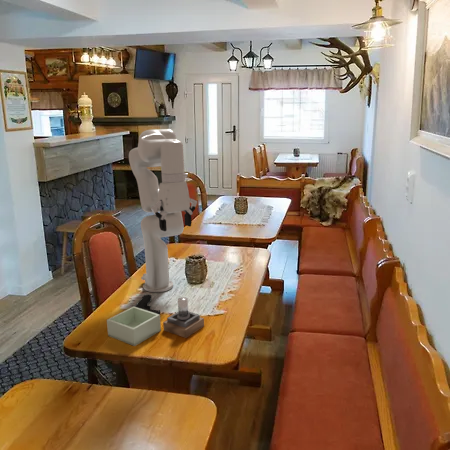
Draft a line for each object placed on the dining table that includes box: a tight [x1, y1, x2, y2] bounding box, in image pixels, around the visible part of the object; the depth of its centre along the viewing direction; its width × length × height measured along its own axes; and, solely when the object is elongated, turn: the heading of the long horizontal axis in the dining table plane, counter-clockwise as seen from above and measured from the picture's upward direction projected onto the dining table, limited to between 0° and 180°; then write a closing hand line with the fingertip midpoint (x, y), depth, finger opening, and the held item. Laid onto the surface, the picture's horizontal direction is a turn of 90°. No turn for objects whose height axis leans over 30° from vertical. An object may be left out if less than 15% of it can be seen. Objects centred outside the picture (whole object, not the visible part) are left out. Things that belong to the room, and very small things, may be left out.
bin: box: [106, 305, 162, 347], centre depth 160 cm, size 13×13×6 cm
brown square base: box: [162, 310, 205, 338], centre depth 163 cm, size 10×10×4 cm
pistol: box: [134, 294, 161, 316], centre depth 178 cm, size 3×20×11 cm
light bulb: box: [177, 296, 190, 322], centre depth 161 cm, size 4×4×8 cm
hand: (176, 228), depth 159 cm, fingers open, 9 cm apart
